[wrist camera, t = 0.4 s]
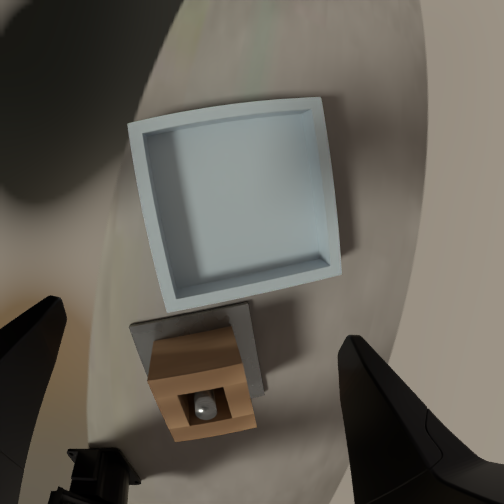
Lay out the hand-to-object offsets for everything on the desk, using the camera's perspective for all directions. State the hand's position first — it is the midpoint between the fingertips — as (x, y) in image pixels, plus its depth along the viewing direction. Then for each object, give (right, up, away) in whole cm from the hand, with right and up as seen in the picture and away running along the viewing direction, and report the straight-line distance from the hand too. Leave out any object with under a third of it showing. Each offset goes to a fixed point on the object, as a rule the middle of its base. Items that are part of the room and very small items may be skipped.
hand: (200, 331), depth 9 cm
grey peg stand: (-3, -6, +15) cm, 16 cm away
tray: (0, +6, +12) cm, 14 cm away
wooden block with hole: (-2, -8, +15) cm, 17 cm away
